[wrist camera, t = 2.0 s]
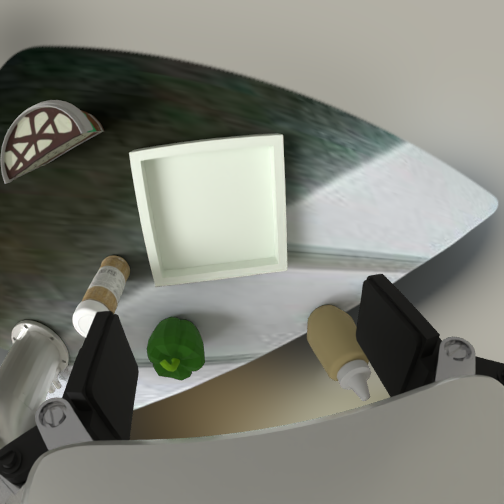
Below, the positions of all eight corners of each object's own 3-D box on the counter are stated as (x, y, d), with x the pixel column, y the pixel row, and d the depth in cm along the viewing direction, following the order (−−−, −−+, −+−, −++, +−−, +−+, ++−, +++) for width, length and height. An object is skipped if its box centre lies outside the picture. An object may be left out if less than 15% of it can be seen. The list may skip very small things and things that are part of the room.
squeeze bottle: (314, 343, 53) (349, 422, 37) (292, 317, 50) (327, 402, 34) (352, 318, 52) (399, 392, 36) (333, 289, 49) (384, 367, 33)
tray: (282, 260, 45) (287, 270, 42) (158, 276, 43) (155, 287, 41) (277, 133, 37) (282, 134, 35) (134, 149, 35) (129, 152, 33)
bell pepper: (209, 343, 50) (212, 388, 41) (162, 351, 49) (158, 396, 40) (195, 303, 46) (195, 347, 37) (145, 313, 46) (135, 357, 37)
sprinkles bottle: (98, 274, 42) (68, 331, 30) (107, 249, 40) (75, 302, 28) (125, 286, 43) (104, 347, 31) (135, 262, 42) (113, 320, 30)
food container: (98, 84, 31) (67, 77, 22) (114, 125, 34) (86, 130, 25) (26, 129, 31) (-16, 138, 22) (41, 167, 34) (2, 185, 25)
